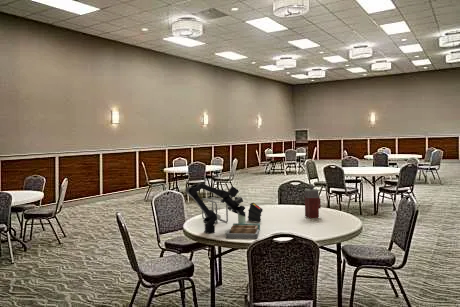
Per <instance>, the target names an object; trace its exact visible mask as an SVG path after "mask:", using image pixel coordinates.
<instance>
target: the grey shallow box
mask: <svg viewBox="0 0 460 307" xmlns="http://www.w3.org/2000/svg"><path fill="white" fill-rule="evenodd" d="M259 235H260V230H257V232H256V234H237V233H231V228H230V229H228V231H227V232H226V233H225V238H226V239H247V238H250V240H253V239H258V237H259Z"/></svg>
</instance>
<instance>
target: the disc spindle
mask: <svg viewBox="0 0 460 307" xmlns="http://www.w3.org/2000/svg"><path fill="white" fill-rule="evenodd" d="M244 213H245V214H246V211H244ZM237 224H247V223H246V216H243V215H240V214H237Z"/></svg>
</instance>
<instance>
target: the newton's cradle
mask: <svg viewBox="0 0 460 307" xmlns="http://www.w3.org/2000/svg"><path fill="white" fill-rule="evenodd" d="M221 199H222V198H219V197H218V198H217V197H214V196H211V199H210V198H209V197H205V198H204V197H202V198H201V200H202V201H203V202H204V201H206V202H208V204H210V205H209V206H208V209H210V210H213V211H214V213H215V214H217V215H216V216H217V220H216V221H215V224H214V225H217V224H218V220H219V221H220V222H219V224H224V223H229V222H228V221H229V213H228V212H229V210H228V207H229V206H227V204H226V203H225V208H226V210H225V214H226V220H224V219H223V218H222V217H221V215H220V214H219V212H221V211H220V209H221V208H218V204H219V203H220V204H222V203H221ZM218 209H219V211H218ZM201 217H202V219H203V220H204V219H205V218H206V217H205V215H204V212H203V211H202V210H201Z"/></svg>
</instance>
